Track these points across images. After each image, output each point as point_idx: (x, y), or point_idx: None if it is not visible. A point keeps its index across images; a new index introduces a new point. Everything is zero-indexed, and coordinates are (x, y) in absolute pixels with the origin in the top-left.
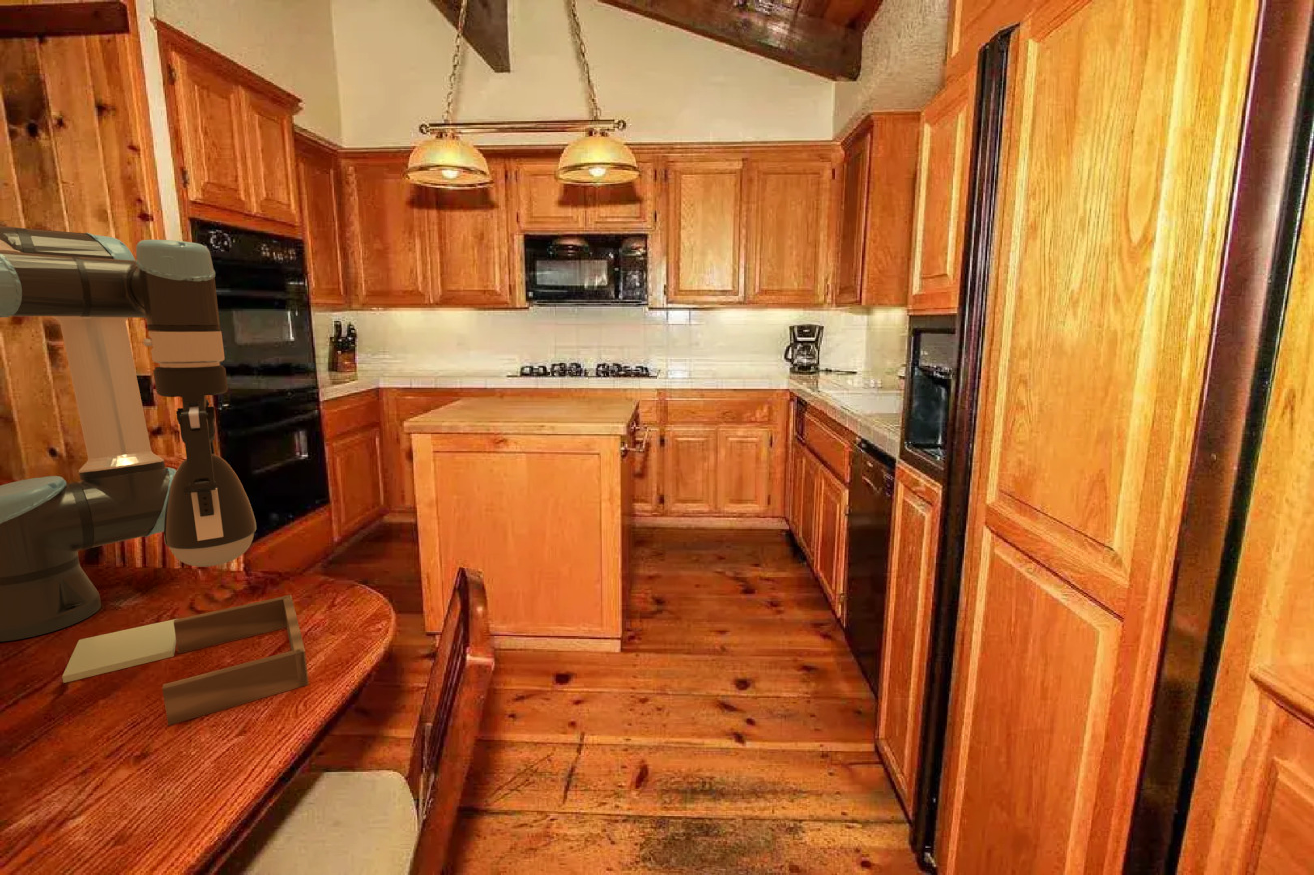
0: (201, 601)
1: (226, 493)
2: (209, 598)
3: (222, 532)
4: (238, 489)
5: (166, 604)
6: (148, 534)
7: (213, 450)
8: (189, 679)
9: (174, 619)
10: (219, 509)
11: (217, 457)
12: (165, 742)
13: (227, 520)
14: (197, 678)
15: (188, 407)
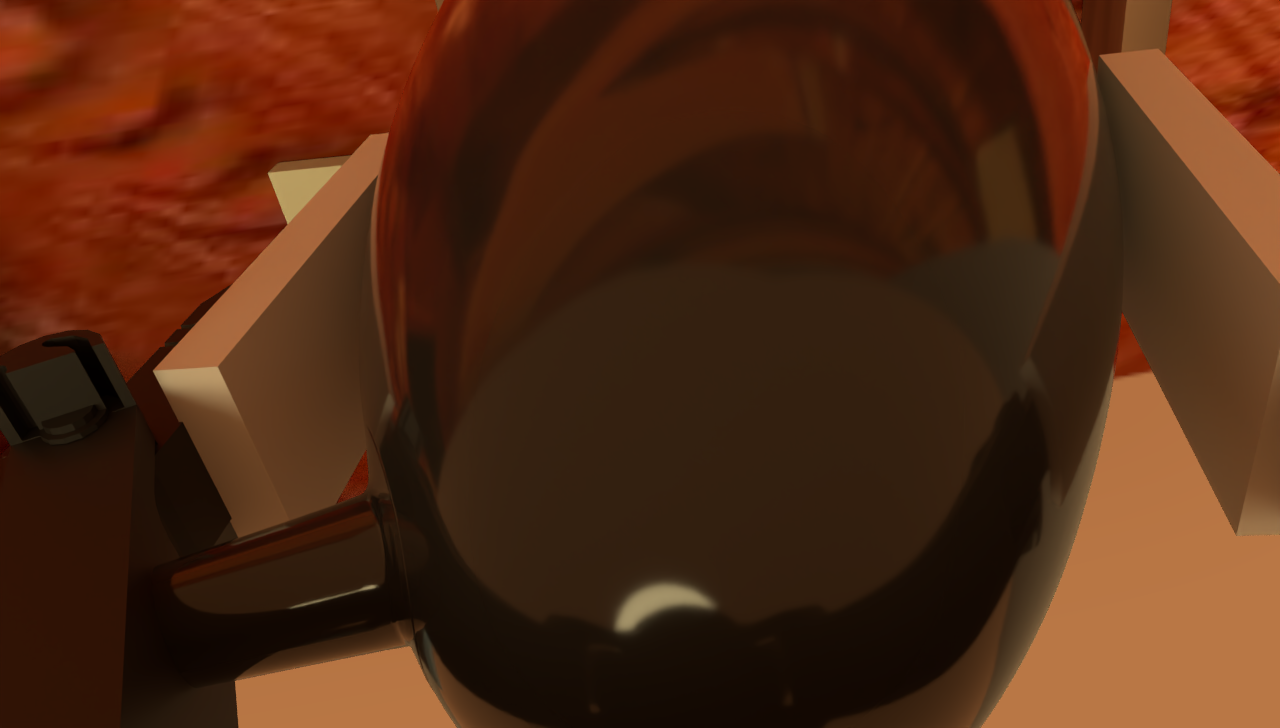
0: (71, 116)
1: (1061, 157)
2: (43, 91)
3: (1169, 65)
4: (887, 30)
5: (84, 230)
6: None
7: (83, 626)
8: (1145, 31)
9: (273, 182)
10: (1261, 161)
11: (759, 557)
12: (1230, 51)
13: (1088, 54)
14: (1156, 1)
15: None
